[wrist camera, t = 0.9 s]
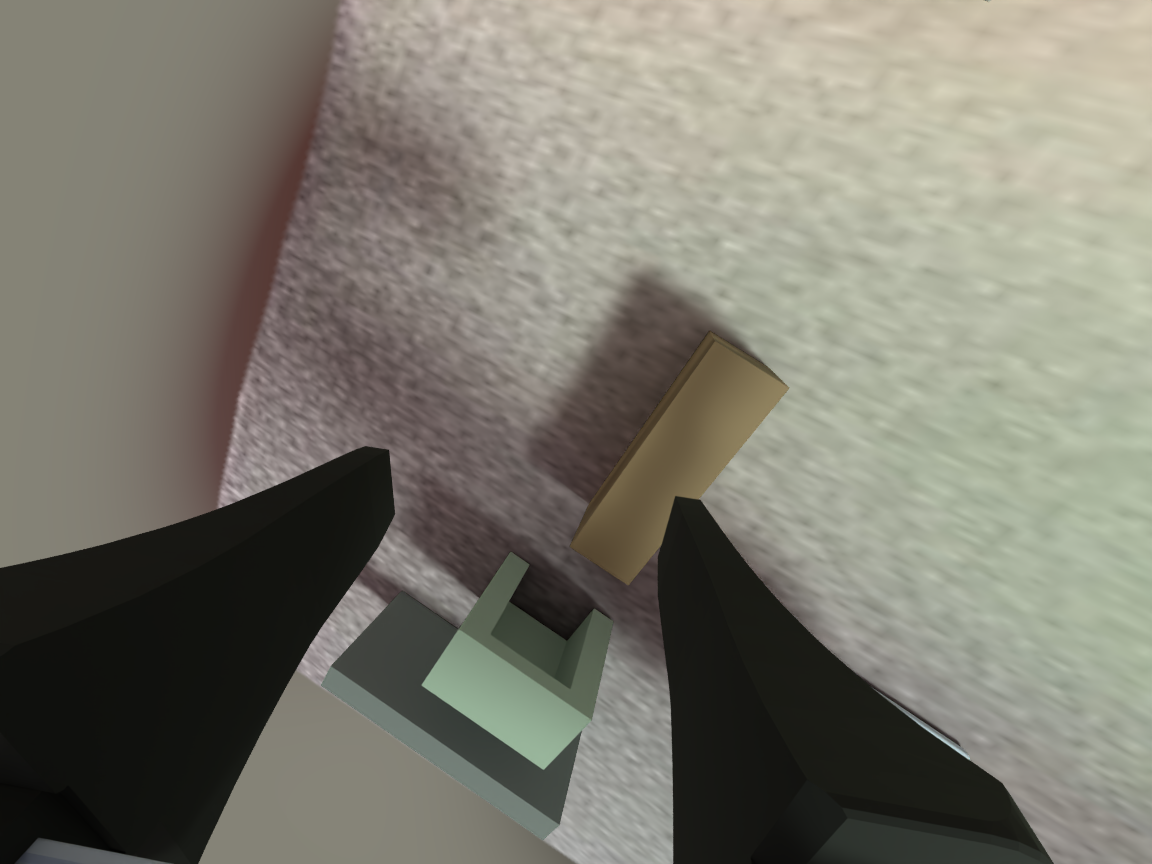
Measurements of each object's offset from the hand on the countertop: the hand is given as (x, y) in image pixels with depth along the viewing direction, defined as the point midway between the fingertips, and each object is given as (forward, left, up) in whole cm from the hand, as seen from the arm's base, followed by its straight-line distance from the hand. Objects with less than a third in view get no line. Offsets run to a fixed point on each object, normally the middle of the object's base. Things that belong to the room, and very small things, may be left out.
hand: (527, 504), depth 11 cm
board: (-3, +22, -14) cm, 27 cm away
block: (-4, +15, -14) cm, 21 cm away
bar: (-4, +1, -14) cm, 15 cm away
